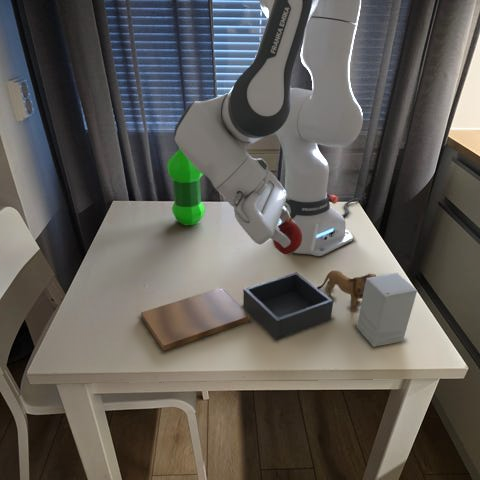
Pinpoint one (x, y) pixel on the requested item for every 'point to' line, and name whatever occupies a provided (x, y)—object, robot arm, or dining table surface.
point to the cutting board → (193, 318)
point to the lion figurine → (347, 285)
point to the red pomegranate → (292, 232)
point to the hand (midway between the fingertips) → (290, 236)
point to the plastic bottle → (185, 189)
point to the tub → (287, 305)
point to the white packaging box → (385, 309)
